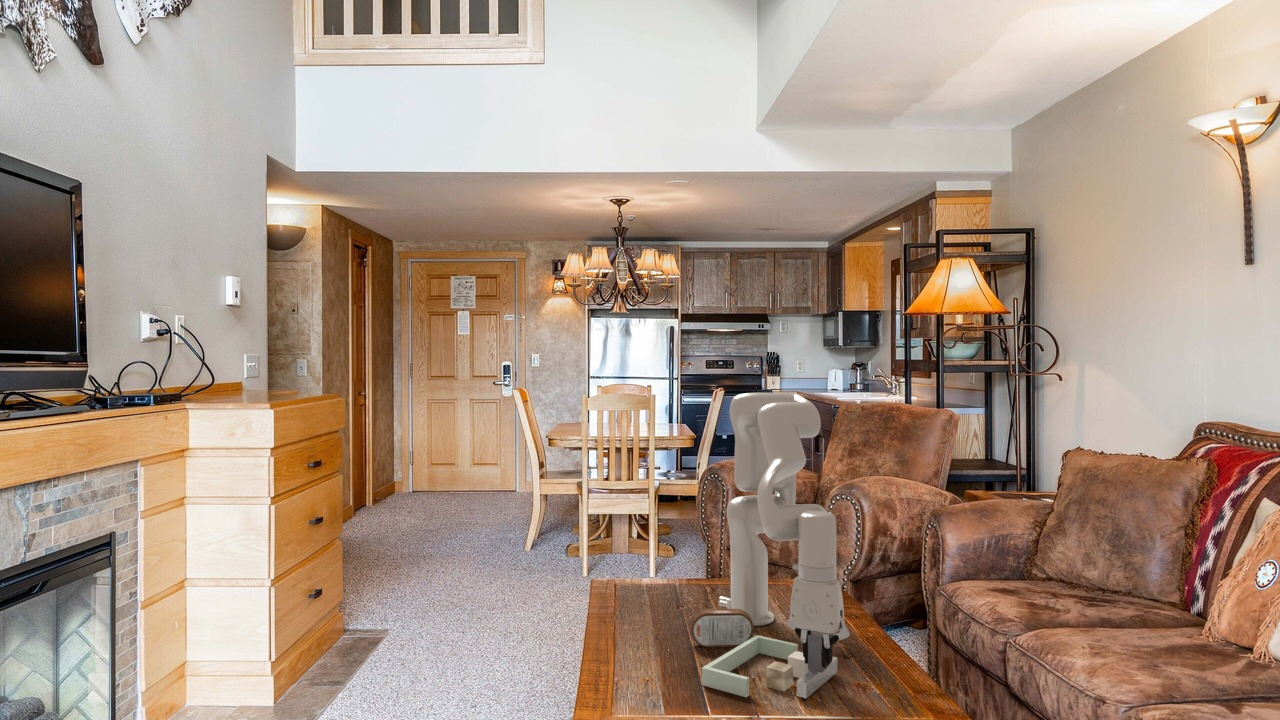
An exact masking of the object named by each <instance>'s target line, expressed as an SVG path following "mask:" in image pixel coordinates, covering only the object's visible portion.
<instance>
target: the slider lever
mask: <svg viewBox="0 0 1280 720" xmlns="http://www.w3.org/2000/svg"><path fill="white" fill-rule="evenodd" d="M823 647H824V639H823V634H822V633H817V632H813V631H812V632H811V633H810V634H808V669H809V671H808V672H807V673H806V674H804V675H803V676H802V677H801V678H797V680H796V697H799V698H802V699H803V698H804V699H808V698H809V697H811V695H812V694H813V693H815V692H816V691H817V690H818V689H819V688H821V686H822V685H824V684H825V683H827V681H829V680H830V679H831V678H832V677H834V675H836V674H837V673H838V657H836V656H833V659H832V662H831V663H830V665H828V666H827V667H826V668H823V667H822V662H821V649H822V648H823Z"/></svg>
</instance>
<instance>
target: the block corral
mask: <svg viewBox="0 0 1280 720" xmlns="http://www.w3.org/2000/svg"><path fill="white" fill-rule="evenodd" d="M795 651H798V652H799V645H798V643H795V642H790V641H785V640H780V639H776V638H772V637H767V636H763V635H758V634H757V635H754V636H752V638H751V639H749V640H748V641H746V642H744V643H743V644H741V645H739V646H737V647H733V649H731V650H729V651H727V652H726V653H724V654H723V655H721V656H719V657H717V658H716V659H714V660H712V661H711V662H708V664H706V665H704V666H702V667H701V686H704V687H707V688H712V689H715V690H719V691H722V692H725V693H729V694H733V695H736V696H740V697H744V698H748V697H749V696H750V677H749V676H744V675H741V674H736V673H733V672H732V671H733V670H735V669H736V668H738V667H739V666H741V665H742V664H745V663H746V662H747V661H749V660H750V659H752V658H754V657H755V656H756V655H758V654H761V655H765V656H770V657H774V658H777V659H783V660H787V661H788V656H789V655H791V654H792V653H794V652H795Z"/></svg>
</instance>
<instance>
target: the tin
mask: <svg viewBox="0 0 1280 720" xmlns="http://www.w3.org/2000/svg"><path fill="white" fill-rule="evenodd" d="M688 628H689V633H690V635H691V637H692V639H693V641H694V642H695V643H696V644H697V645H698V646H701V647H704V648H727V647H728V648H731V647H733V648H736V647H737V646H739V645H741V644H743V643H744V642H746V641H748V640H749V639H751V638H753V637H754V636H753V635H754V634H755V626H754V625H753V622H752V619H751V617H750V616H749V614H748V613H747V612H745V611H743V610H741V609H727V608H703V609H700V610H698V611H697V612H695V613H694V614H693V616H692V617H691V618H690V620H689V627H688Z"/></svg>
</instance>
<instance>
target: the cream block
mask: <svg viewBox="0 0 1280 720" xmlns="http://www.w3.org/2000/svg"><path fill="white" fill-rule="evenodd" d="M787 664H788V665H792V666H793V677H794V678H797V679H799V678H801V677H802V676H803V675H804V674H806V673H807V672H808V671H809V669H808V664H806V663H805V657H803V651H799V650H798V651H795V652H794V653H792V654H791V655H789V656H788V660H787Z"/></svg>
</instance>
